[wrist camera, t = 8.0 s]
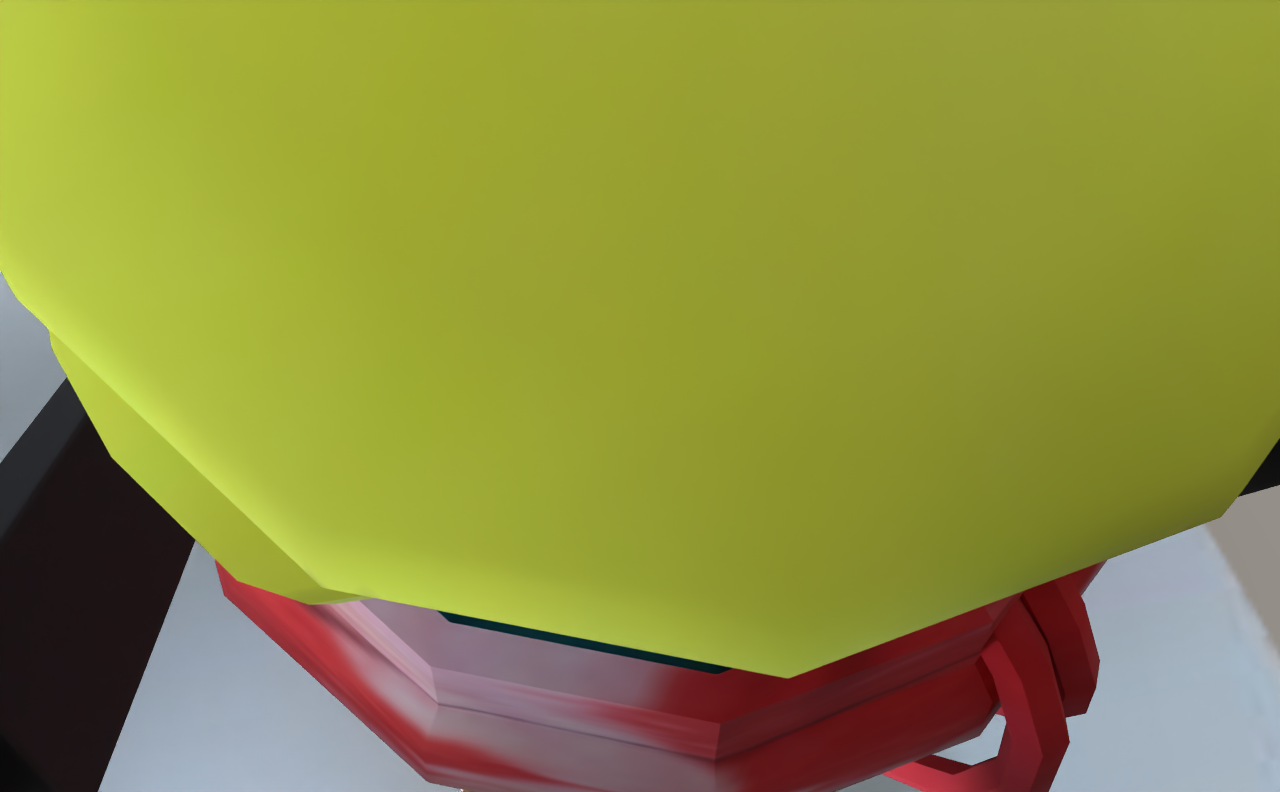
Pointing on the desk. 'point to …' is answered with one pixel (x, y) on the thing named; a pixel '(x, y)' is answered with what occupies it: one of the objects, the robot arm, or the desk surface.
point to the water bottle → (664, 351)
